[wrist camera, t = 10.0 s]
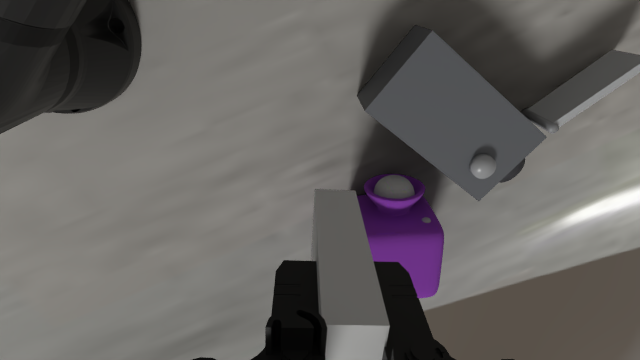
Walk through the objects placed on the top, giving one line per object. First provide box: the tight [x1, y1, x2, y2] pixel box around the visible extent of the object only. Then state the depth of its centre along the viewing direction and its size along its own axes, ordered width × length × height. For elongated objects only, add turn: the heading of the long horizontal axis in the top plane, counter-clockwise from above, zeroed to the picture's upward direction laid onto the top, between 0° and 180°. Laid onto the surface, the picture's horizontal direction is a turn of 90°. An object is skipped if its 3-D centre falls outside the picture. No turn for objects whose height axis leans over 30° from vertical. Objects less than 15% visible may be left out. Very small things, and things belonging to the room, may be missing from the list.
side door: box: [521, 50, 640, 133], centre depth 40 cm, size 10×2×6 cm, turn 130°
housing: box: [357, 25, 546, 201], centre depth 41 cm, size 18×9×7 cm, turn 52°
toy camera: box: [357, 174, 444, 298], centre depth 45 cm, size 11×14×10 cm
